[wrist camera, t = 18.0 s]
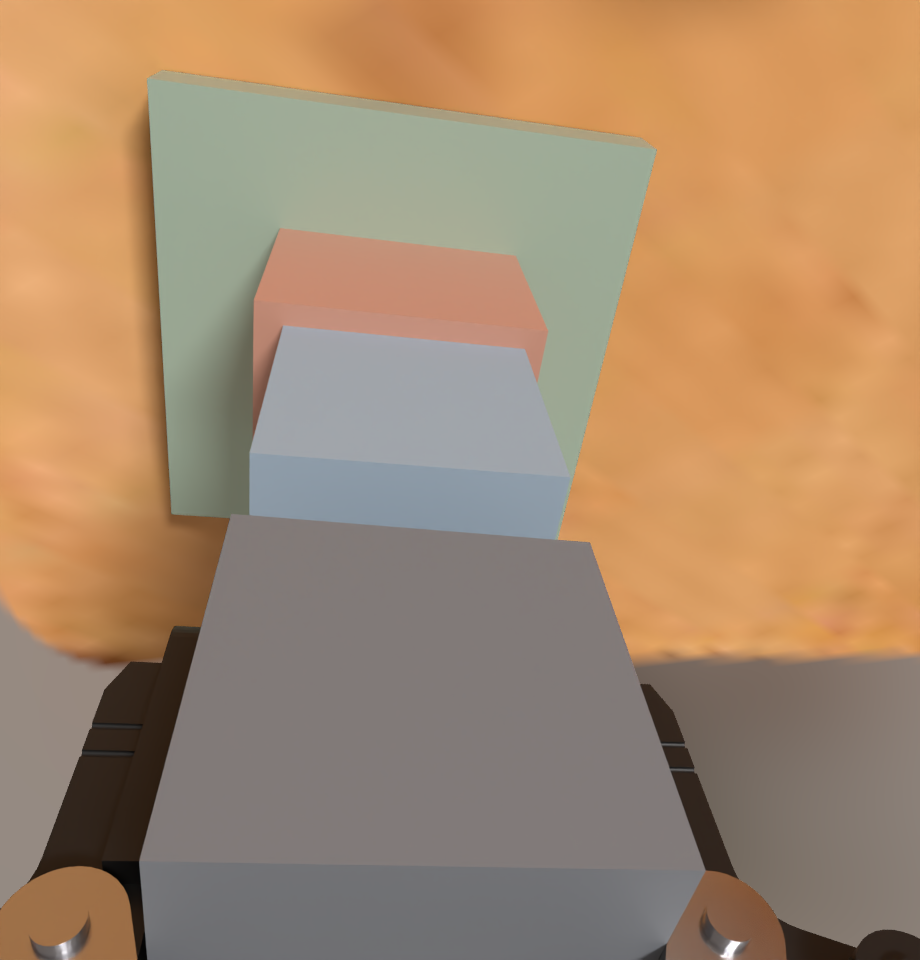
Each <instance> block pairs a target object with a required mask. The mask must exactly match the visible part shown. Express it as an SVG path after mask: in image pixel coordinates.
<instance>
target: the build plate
mask: <svg viewBox="0 0 920 960" xmlns="http://www.w3.org/2000/svg"><path fill="white" fill-rule="evenodd" d="M147 85H148V103H149V121H150V139H151V157H152V175H153V192H154V210H155V228H156V246H157V264H158V282H159V300H160V317H161V335H162V353H163V371H164V389H165V407H166V425H167V442H168V460H169V478H170V496H171V514H175V515H190V516H205V517H220V518H230V516H231V514H239V515H249V494H250V449H251V446H252V442H253V318H254V298H255V295H256V292H257V290H258V287H259V284H260V281H261V279H262V276H263V273H264V271H265V268H266V265H267V262H268V260H269V257H270V254H271V251H272V249H273V246H274V243H275V240H276V238H277V235H278V232H279V230H280V228H284V229H293V230H301V231H310V232H318V233H327V234H335V235H344V236H352V237H361V238H369V239H378V240H386V241H395V242H403V243H412V244H420V245H429V246H437V247H446V248H454V249H463V250H471V251H480V252H489V253H497V254H506V255H514V256H516V257H517V260H518V262H519V264H520V267H521V269H522V271H523V274H524V276H525V278H526V281H527V283H528V285H529V288H530V290H531V292H532V294H533V297H534V299H535V301H536V304H537V306H538V308H539V311H540V313H541V315H542V318H543V320H544V322H545V324H546V327H547V329H548V335H547V340H546V344H545V349H544V354H543V359H542V363H541V368H540V373H539V377H538V382H537V384H538V387H539V390H540V393H541V396H542V398H543V401H544V404H545V407H546V410H547V412H548V415H549V418H550V421H551V424H552V427H553V429H554V432H555V435H556V438H557V441H558V443H559V446H560V449H561V452H562V455H563V458H564V460H565V463H566V466H567V469H568V472H569V474H570V481H569V485H568V489H567V493H566V497H565V501H564V505H563V510H562V514H561V518H560V522H559V526H558V530H557V534H556V538H555V540H558V536H559V532H560V528H561V524H562V520H563V516H564V512H565V508H566V504H567V500H568V497H569V493H570V489H571V485H572V481H573V477H574V473H575V469H576V465H577V461H578V457H579V453H580V449H581V446H582V442H583V438H584V434H585V430H586V426H587V422H588V418H589V414H590V410H591V406H592V402H593V398H594V395H595V391H596V387H597V383H598V379H599V375H600V371H601V367H602V363H603V359H604V355H605V351H606V348H607V344H608V340H609V336H610V332H611V328H612V324H613V320H614V316H615V312H616V308H617V304H618V300H619V297H620V293H621V289H622V285H623V281H624V277H625V273H626V269H627V265H628V261H629V257H630V253H631V249H632V246H633V242H634V238H635V234H636V230H637V226H638V222H639V218H640V214H641V210H642V206H643V202H644V199H645V195H646V191H647V187H648V183H649V179H650V175H651V171H652V167H653V163H654V159H655V155H656V151H657V149H655V148H654V147H653V146H651V145H650V144H649V143H647V142H646V141H645V140H643V139H642V138H639V137H632V136H625V135H618V134H611V133H604V132H597V131H590V130H583V129H575V128H568V127H561V126H554V125H547V124H540V123H533V122H526V121H519V120H512V119H505V118H498V117H491V116H484V115H477V114H469V113H462V112H455V111H448V110H441V109H434V108H427V107H420V106H413V105H406V104H399V103H392V102H385V101H378V100H371V99H363V98H356V97H349V96H342V95H335V94H328V93H321V92H314V91H307V90H300V89H293V88H286V87H279V86H272V85H265V84H257V83H250V82H243V81H236V80H229V79H222V78H215V77H208V76H201V75H194V74H187V73H180V72H173V71H166V70H161V71H159V72H158V73H156V74H154V75H152V76H150V77H149V78H147Z"/></svg>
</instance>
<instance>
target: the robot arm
mask: <svg viewBox="0 0 920 960" xmlns="http://www.w3.org/2000/svg"><path fill="white" fill-rule="evenodd" d="M200 630H201V627H185V626H175V627H174V628H173V630H172V632H171V635H170V638H169V641H168V644H167V648H166V651H165V654H164V657H163V661H162V663H147V662H130V663H129V664H128V665H127V666H126V667H125V669H124V670H123V671H122V672H121V673H120V674H119V675H118V676H117V677H116V678H115V679H114V680H113V681H112V682H111V683H110V684H109V685H108V686H107V688H106V689H105V690H104V693H103V695H102V698H101V700H100V703H99V706H98V709H97V711H96V714H95V717H94V719H93V723H92V729H90V730H89V733H88V736H87V738H86V741H85V744H84V746H83V749H82V756H81V757H79V760H78V762H77V765H76V768H75V770H74V773H73V776H72V779H71V781H70V784H69V787H68V789H67V792H66V795H65V797H64V800H63V803H62V806H61V808H60V811H59V814H58V816H57V819H56V822H55V824H54V827H53V830H52V833H51V835H50V838H49V841H48V843H47V846H46V849H45V851H44V854H43V857H42V859H41V861H40V863H39V866H38V868H37V870H36V871H35V873H34V874H33V876H32V877H31V879H30V881H29V882H28V883H27V884H26V885H24V886H23V887H22V888H21V889H19V890H18V891H17V892H16V893H15V894H13V895H12V896H11V897H10V899H9V900H8V901H7V902H6V903H5V904H4V905H3V907H2V908H0V960H147V949H146V937H145V925H144V914H143V902H142V889H141V878H140V866H139V860H140V856H141V852H142V849H143V845H144V841H145V837H146V834H147V830H148V826H149V822H150V818H151V815H152V811H153V807H154V803H155V800H156V796H157V792H158V788H159V785H160V781H161V777H162V773H163V769H164V766H165V762H166V758H167V754H168V751H169V747H170V743H171V739H172V735H173V732H174V728H175V724H176V720H177V717H178V713H179V709H180V705H181V701H182V698H183V694H184V690H185V686H186V683H187V679H188V675H189V671H190V667H191V664H192V660H193V656H194V652H195V649H196V645H197V641H198V637H199V633H200ZM640 686H641V689H642V692H643V694H644V697H645V700H646V703H647V706H648V709H649V711H650V714H651V717H652V720H653V723H654V726H655V728H656V731H657V734H658V737H659V740H660V743H661V745H662V748H663V751H664V754H665V757H666V760H667V762H668V765H669V768H670V771H671V774H672V777H673V779H674V782H675V785H676V788H677V791H678V794H679V796H680V799H681V802H682V805H683V808H684V811H685V813H686V816H687V819H688V822H689V825H690V828H691V830H692V833H693V836H694V839H695V842H696V845H697V847H698V850H699V853H700V856H701V859H702V862H703V864H704V867H705V870H706V871H705V873H704V875H703V877H702V879H701V881H700V882H699V884H698V886H697V888H696V890H695V892H694V894H693V896H692V897H691V899H690V901H689V903H688V905H687V907H686V909H685V910H684V912H683V914H682V916H681V918H680V920H679V922H678V924H677V925H676V927H675V929H674V931H673V933H672V935H671V937H670V938H669V940H668V942H667V944H666V946H665V948H664V950H663V952H662V953H661V955H660V957H659V959H658V960H920V939H919V938H917V937H915V936H913V935H910V934H907V933H904V932H901V931H896V930H880V931H875V932H873V933H871V934H869V935H868V936H866V937H865V938H864V939H863V940H862V941H861V943H860V944H859V946H858V947H857V948H855V947H852V946H849V945H846V944H843V943H840V942H837V941H834V940H831V939H828V938H825V937H822V936H819V935H816V934H813V933H810V932H807V931H804V930H801V929H799V928H796V927H794V926H791V925H789V924H787V923H785V922H783V921H781V920H780V919H778V918H777V917H776V915H775V913H774V912H773V910H772V909H771V907H770V906H769V905H768V903H766V901H765V900H764V899H763V898H762V897H761V896H760V895H759V894H758V893H757V892H756V891H755V890H754V889H752V888H751V887H750V886H748V885H747V884H746V883H744V882H742V881H740V880H739V879H738V877H737V875H736V873H735V871H734V869H733V867H732V864H731V862H730V859H729V857H728V854H727V851H726V849H725V846H724V844H723V841H722V838H721V836H720V833H719V830H718V828H717V825H716V823H715V820H714V817H713V815H712V812H711V809H710V807H709V804H708V802H707V799H706V796H705V794H704V791H703V789H702V786H701V783H700V781H699V778H698V775H697V774H695V773H694V765H693V762H692V760H691V757H690V754H689V752H688V749H687V748H685V746H684V743H685V741H684V739H683V736H682V733H681V731H680V728H679V726H678V723H677V720H676V718H675V715H674V713H673V711H672V710H671V709H670V707H669V706H668V705H667V704H666V703H665V702H664V700H663V699H662V698H661V697H660V696H659V695H658V694H657V692H656V691H655V690H654V689H653V687H652V686H651V685H648V684H640Z"/></svg>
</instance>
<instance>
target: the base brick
mask: <svg viewBox="0 0 920 960" xmlns="http://www.w3.org/2000/svg"><path fill="white" fill-rule="evenodd" d="M283 325H284V326H294V327H304V328H315V329H325V330H335V331H345V332H356V333H366V334H376V335H386V336H396V337H407V338H417V339H427V340H437V341H448V342H458V343H468V344H478V345H489V346H499V347H509V348H519V349H525V351H526V353H527V356H528V359H529V362H530V365H531V367H532V370H533V373H534V376H535V379H536V382H538V377H539V373H540V368H541V363H542V359H543V354H544V349H545V344H546V340H547V335H548V329H547V327H546V324H545V322H544V320H543V318H542V315H541V313H540V311H539V308H538V306H537V304H536V301H535V299H534V297H533V294H532V292H531V290H530V288H529V285H528V283H527V281H526V278H525V276H524V274H523V271H522V269H521V267H520V264H519V262H518V260H517V257H516V256H514V255H506V254H497V253H489V252H480V251H471V250H463V249H454V248H446V247H437V246H429V245H420V244H412V243H403V242H395V241H386V240H378V239H369V238H361V237H352V236H344V235H335V234H327V233H318V232H310V231H301V230H293V229H284V228H280V230H279V232H278V235H277V238H276V240H275V243H274V246H273V249H272V251H271V254H270V257H269V260H268V262H267V265H266V268H265V271H264V273H263V276H262V279H261V281H260V284H259V287H258V290H257V292H256V295H255V298H254V318H253V438H254V434H255V430H256V427H257V423H258V419H259V415H260V411H261V408H262V404H263V400H264V396H265V392H266V389H267V385H268V381H269V377H270V373H271V370H272V366H273V362H274V358H275V354H276V351H277V347H278V343H279V339H280V336H281V332H282V328H283Z"/></svg>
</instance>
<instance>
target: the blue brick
mask: <svg viewBox="0 0 920 960" xmlns="http://www.w3.org/2000/svg"><path fill="white" fill-rule="evenodd" d="M569 481H570V474H569V472H568V469H567V466H566V463H565V460H564V458H563V455H562V452H561V449H560V446H559V443H558V441H557V438H556V435H555V432H554V429H553V427H552V424H551V421H550V418H549V415H548V412H547V410H546V407H545V404H544V401H543V398H542V396H541V393H540V390H539V387H538V384H537V382H536V379H535V376H534V373H533V370H532V367H531V365H530V362H529V359H528V356H527V353H526V351H525V349H519V348H509V347H499V346H489V345H478V344H468V343H458V342H448V341H437V340H427V339H417V338H407V337H396V336H386V335H376V334H366V333H356V332H345V331H335V330H325V329H315V328H304V327H294V326H284V325H283V328H282V332H281V336H280V339H279V343H278V347H277V351H276V354H275V358H274V362H273V366H272V370H271V373H270V377H269V381H268V385H267V389H266V392H265V396H264V400H263V404H262V408H261V411H260V415H259V419H258V423H257V427H256V430H255V434H254V438H253V442H252V446H251V449H250V494H249V515H252V516H264V517H277V518H290V519H302V520H315V521H327V522H340V523H352V524H365V525H377V526H390V527H402V528H415V529H427V530H440V531H452V532H465V533H478V534H490V535H503V536H515V537H528V538H540V539H553V540H555V538H556V534H557V530H558V526H559V522H560V518H561V514H562V510H563V505H564V501H565V497H566V493H567V489H568V485H569Z"/></svg>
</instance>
